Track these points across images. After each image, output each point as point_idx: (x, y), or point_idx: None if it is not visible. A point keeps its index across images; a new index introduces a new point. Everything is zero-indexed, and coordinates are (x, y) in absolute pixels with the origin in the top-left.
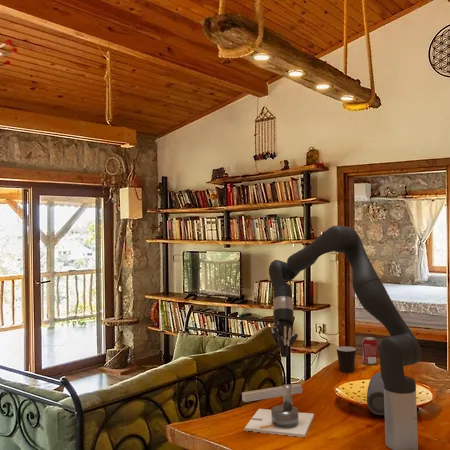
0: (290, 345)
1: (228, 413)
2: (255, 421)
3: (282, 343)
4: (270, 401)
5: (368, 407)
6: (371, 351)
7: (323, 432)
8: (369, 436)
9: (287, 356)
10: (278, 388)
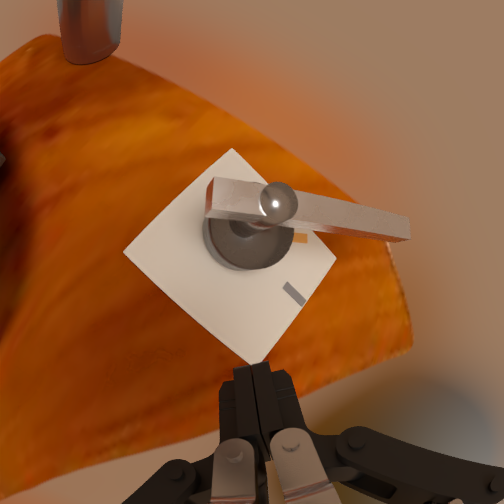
0: (187, 465)
1: (323, 377)
2: (302, 283)
3: (318, 442)
4: (187, 424)
5: (4, 159)
6: None
7: (170, 150)
8: (99, 89)
9: (235, 368)
10: (316, 204)
